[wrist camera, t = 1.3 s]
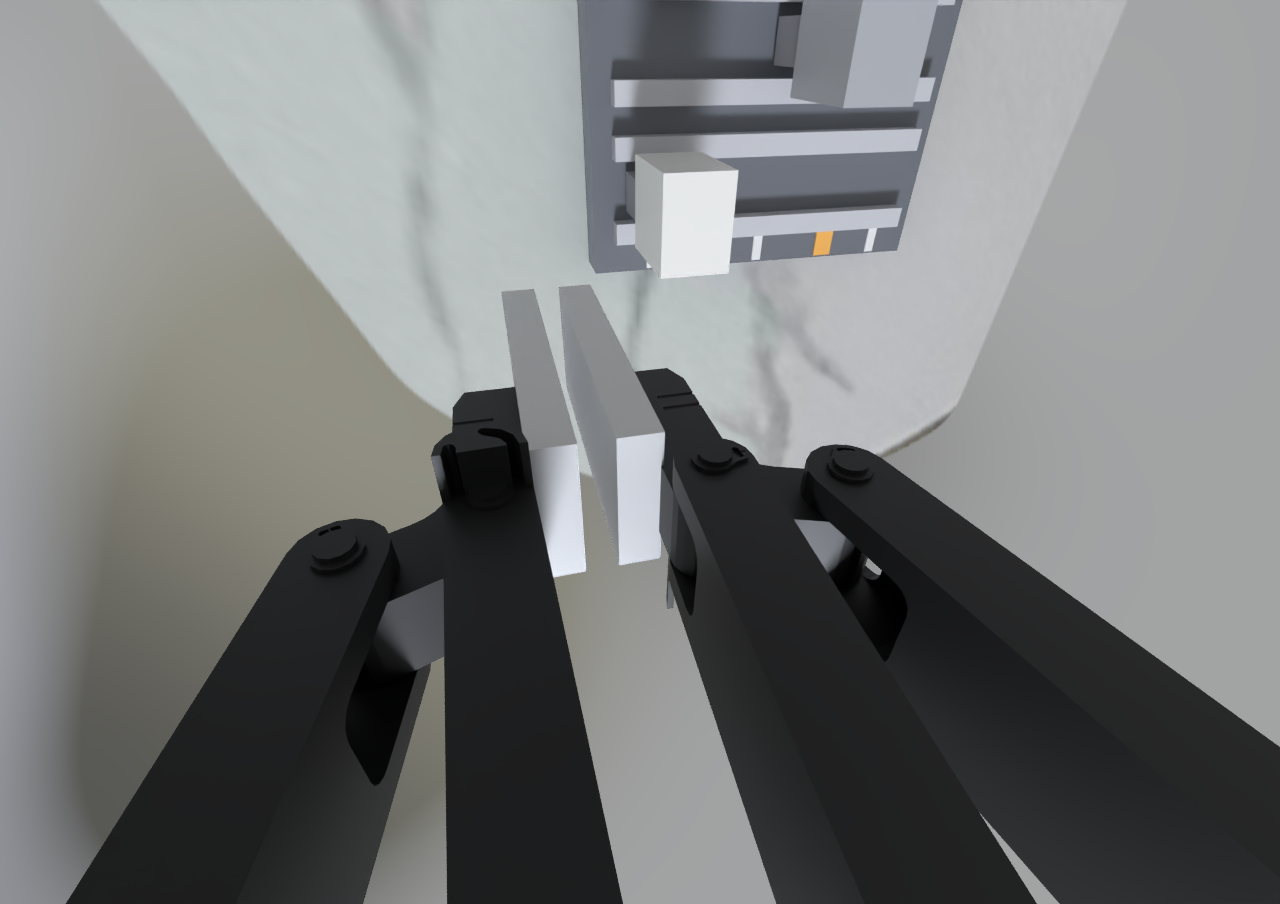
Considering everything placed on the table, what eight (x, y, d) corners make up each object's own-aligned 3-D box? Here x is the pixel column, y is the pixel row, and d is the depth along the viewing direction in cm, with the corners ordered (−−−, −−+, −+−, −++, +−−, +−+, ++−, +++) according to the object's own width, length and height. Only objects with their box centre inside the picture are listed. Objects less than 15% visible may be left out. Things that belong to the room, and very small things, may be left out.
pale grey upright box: (780, -16, 25) (868, -29, 19) (843, -15, 25) (945, -27, 20) (768, 93, 27) (843, 108, 22) (825, 92, 28) (912, 106, 22)
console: (573, -80, 24) (585, -91, 22) (950, -62, 27) (993, -71, 25) (589, 261, 32) (598, 278, 30) (877, 240, 36) (905, 254, 33)
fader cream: (623, 145, 27) (663, 173, 22) (685, 143, 28) (738, 170, 22) (624, 234, 29) (660, 278, 24) (681, 230, 30) (728, 273, 25)
